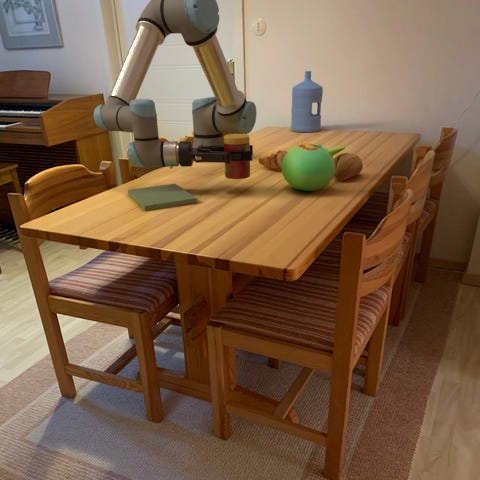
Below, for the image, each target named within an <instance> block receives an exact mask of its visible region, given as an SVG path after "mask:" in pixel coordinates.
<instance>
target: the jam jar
mask: <svg viewBox="0 0 480 480" xmlns="http://www.w3.org/2000/svg"><path fill="white" fill-rule="evenodd" d="M250 145H251V142H249V143H246V144H239V145H230V144H225V143H224V152H230V151H250ZM223 165H224V177H225V178H226V179H229V180H243V179H248V178H250V177H251V161H231V160H230V164H227V163H223Z"/></svg>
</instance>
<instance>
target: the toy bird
mask: <svg viewBox="0 0 480 480" xmlns="http://www.w3.org/2000/svg"><path fill="white" fill-rule="evenodd" d="M298 144H299V145H296V146H294V147H292V148H290V149H289V150H288V151H286V152H287V154H286V155H285V157H284V159H283V162H282V171H281V174H282V177H283V179H284V180H285V182H286V183H287V184H288V185H290V186H291V187H293V188H294V189H296V190H299V191H304V192H313V191H318V190H321V189H323V188H325V187H326V186H328V185H329V184H330V183H331V181H332V180H333V178H334V173H335V162H334V159H335V158H334V156H335V155H337V154H339V153H340V152H342V151H344V150H345V149H346V146H345V145H338V146H331V147H323V146H322V144H321V143H318V144H312V143H307V142H303V141H299V142H298Z"/></svg>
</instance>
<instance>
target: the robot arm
mask: <svg viewBox="0 0 480 480" xmlns="http://www.w3.org/2000/svg"><path fill="white" fill-rule="evenodd" d="M219 12H220V9H219V5H218V2H217V0H150V1H148V3H147V4H146V6H145V7H144V9H143V10H142V12H141V13H140V15H139V17H138V20H137V22H136V24H135V31H136V33H135V34H134V36H133V39H132V42H131V44H130V46H129V49H128V51H127V54H126V55H125V58H124V60H123V63H122V65H121V67H120V70H119V72H118V74H117V76H116V78H115V81H114V84H113V86H112V88H111V91H110V93H109V95H108V98H107V99H106V102H105V103H101V104H99V105H97V106H96V107H95V108H94V110H93V121H94V123H95V125H96V126H97V127H98V129H101V130H102V131H109V132H124V133H132V134H133V141H130V142H129V144H128V146H127V154H128V155H127V158H128V161H129V164H130V166H132V167H133V168H146V169H147V168H168V167H169V168H170V169H173V168H174V167H176V168H177V167H179V166H180V167H182V168H183V167H184V168H187V167H188V168H190V167H192V166H193V165H194V161H195V163H197V164H198V163H218V164H219V163H220V164H221V163H222V164H224V163H227V164H230V160H231V161H250V162H252V161H253V155H254V146H253V145H254V144H250V151H230V152H224V135H223V133H224V134H247V135H249V134H250V133H251V132H252V131H253V129H254V127H255V124H256V121H257V107H256V104H255V102H253V101H251V100H247V98H246V96H245V94H244V93H243V91H241V90H239V89H238V87H237V85H236V82H235V80H234V77H233V74H232V72H231V70H230V66H229V64H228V62H227V59H226V56H225V54H224V52H223V49H222V47H221V44H220V42H219V40H218V37H217V35H216V34H217V32H218V29H219V28H218V27H219V23H220V14H219ZM172 34H174V35H175V34H180V35H181V37H182V38H183V41H184V43H185V44H186V45H187V46H189V47H192V49H193V52H194V53H195V56H196V58H197V60H198V62H199V65H200V67H201V69H202V71H203V73H204V76H205V78H206V80H207V82H208V84H209V86H210V89H211V91H212V93H213V95H214V96H208V97H202V98H197V99H193V101H192V103H191V113H192V115H191V116H192V126H193V128H192V129H193V142H192V141H191V140H180V141H179V142H178V141H177V140H168V141H167V140H166V141H160V138H159V127H158V126H159V125H158V114H157V109H156V104H155V101H154V100H153V99H150V98H137V96H138V95H139V91H140V89H141V87H142V85H143V82H144V80H145V78H146V77H147V76H146V75H147V73H148V71H149V69H150V66H151V64H152V61H153V59H154V57H155V55H156V52H157V51H158V47H159V46H161V45H163V44H164V42H165V39H166V38H167V37H168V36H169V35H172Z"/></svg>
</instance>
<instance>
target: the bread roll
mask: <svg viewBox="0 0 480 480" xmlns="http://www.w3.org/2000/svg"><path fill="white" fill-rule="evenodd" d="M333 159H334V162H335V173H334V176H333V178H334V179H335V180H337V181H345V180H349V179H351V178H352V177H355V176H357V175H359V174H361V172H362V170H363V167H364V165H363V161H362V158H360V156H359V155H357V154H354V153H349V152H344V153H340V154H339V153H338V155H336V156H335V157H334V158H333Z"/></svg>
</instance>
